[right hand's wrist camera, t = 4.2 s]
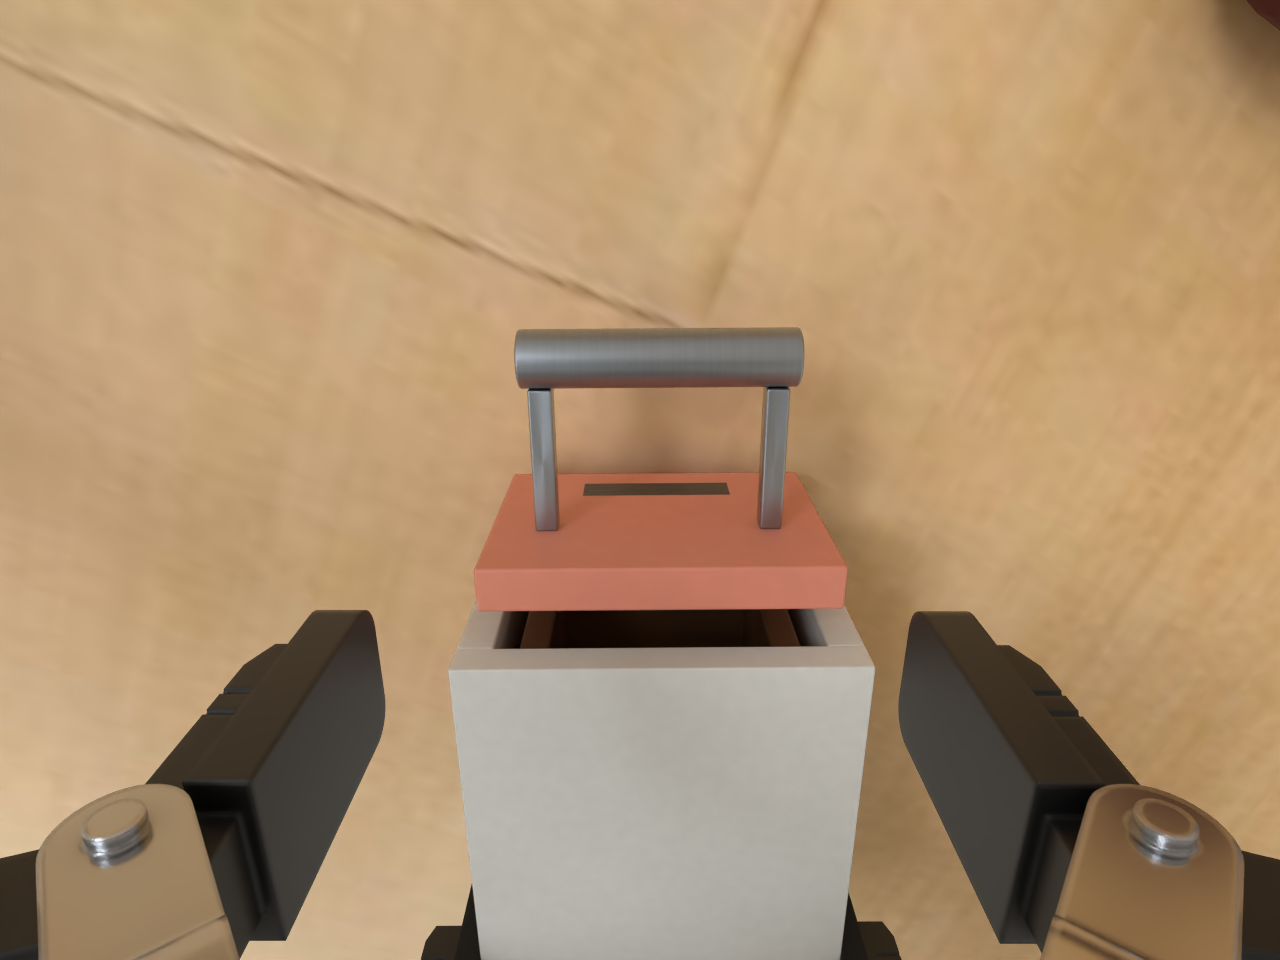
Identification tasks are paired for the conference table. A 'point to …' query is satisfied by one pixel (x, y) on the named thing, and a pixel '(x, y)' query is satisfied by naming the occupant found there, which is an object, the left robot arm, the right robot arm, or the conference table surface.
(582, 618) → the drawer
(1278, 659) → the conference table surface
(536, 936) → the cabinet
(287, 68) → the conference table surface
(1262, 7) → the potato
